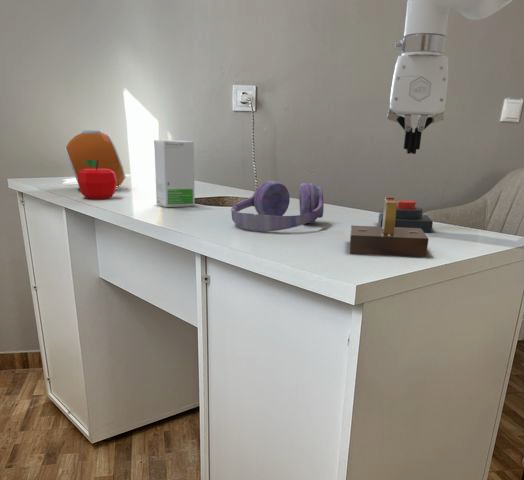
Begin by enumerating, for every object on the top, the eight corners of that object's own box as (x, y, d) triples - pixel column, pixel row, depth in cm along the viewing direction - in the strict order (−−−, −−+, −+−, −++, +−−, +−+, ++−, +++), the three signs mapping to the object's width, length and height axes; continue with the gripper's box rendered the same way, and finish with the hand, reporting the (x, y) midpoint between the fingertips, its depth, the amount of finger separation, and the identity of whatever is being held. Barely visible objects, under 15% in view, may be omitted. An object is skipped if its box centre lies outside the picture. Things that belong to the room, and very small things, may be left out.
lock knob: (393, 234, 90) (397, 200, 88) (383, 233, 90) (387, 200, 88) (391, 228, 95) (394, 197, 93) (381, 228, 95) (385, 196, 93)
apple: (113, 195, 160) (110, 158, 157) (123, 199, 152) (120, 160, 148) (75, 196, 156) (71, 158, 152) (83, 200, 147) (79, 160, 143)
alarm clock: (129, 191, 169) (125, 130, 163) (68, 192, 164) (62, 129, 158) (123, 185, 186) (119, 130, 180) (68, 186, 181) (62, 129, 175)
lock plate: (419, 245, 97) (421, 227, 96) (426, 257, 88) (428, 237, 87) (349, 242, 99) (351, 224, 98) (349, 253, 90) (351, 234, 88)
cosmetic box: (165, 208, 137) (162, 140, 131) (155, 204, 142) (151, 139, 136) (196, 206, 141) (194, 140, 135) (185, 203, 146) (183, 140, 140)
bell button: (413, 209, 115) (414, 200, 114) (415, 211, 112) (416, 202, 111) (396, 208, 115) (396, 200, 115) (397, 210, 112) (398, 202, 111)
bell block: (425, 225, 118) (428, 206, 117) (431, 232, 110) (434, 212, 109) (378, 223, 120) (379, 204, 118) (380, 230, 111) (382, 210, 110)
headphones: (261, 211, 128) (216, 238, 113) (259, 175, 124) (212, 198, 108) (336, 218, 120) (299, 248, 105) (337, 180, 116) (298, 205, 101)
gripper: (383, 45, 100) (373, 153, 107) (469, 46, 98) (453, 155, 105) (381, 50, 107) (371, 151, 114) (461, 51, 105) (446, 154, 112)
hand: (410, 153), depth 110 cm, fingers closed
